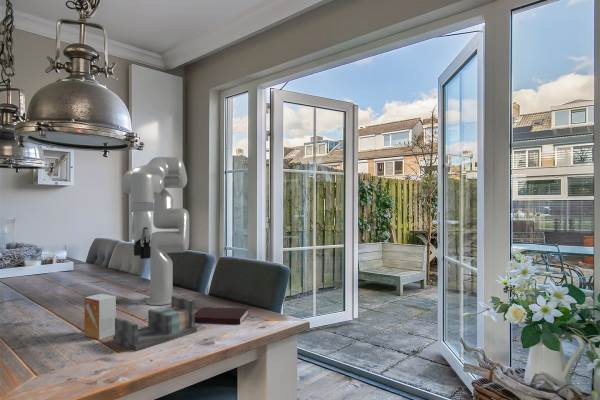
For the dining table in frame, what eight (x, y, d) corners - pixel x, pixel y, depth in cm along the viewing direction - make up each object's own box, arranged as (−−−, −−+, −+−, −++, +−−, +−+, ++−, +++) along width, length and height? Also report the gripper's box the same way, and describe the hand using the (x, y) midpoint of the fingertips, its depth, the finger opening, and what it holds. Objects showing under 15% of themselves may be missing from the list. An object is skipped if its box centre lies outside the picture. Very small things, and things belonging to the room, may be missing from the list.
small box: (83, 336, 128) (83, 297, 128) (101, 330, 134) (101, 293, 134) (98, 340, 124) (98, 300, 125) (116, 334, 130) (116, 295, 130)
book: (240, 326, 140) (240, 317, 140) (189, 323, 142) (189, 315, 142) (249, 316, 152) (249, 307, 152) (202, 314, 155) (202, 306, 155)
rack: (113, 340, 124) (113, 308, 124) (172, 323, 141) (172, 295, 141) (136, 351, 115) (136, 316, 115) (196, 331, 133) (196, 301, 133)
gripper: (125, 207, 139) (125, 255, 139) (136, 208, 125) (136, 260, 124) (147, 207, 143) (147, 253, 143) (159, 207, 129) (159, 258, 129)
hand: (142, 256), depth 134 cm, fingers open, 9 cm apart
